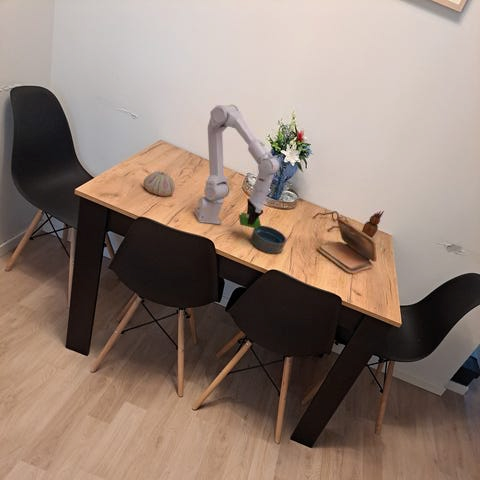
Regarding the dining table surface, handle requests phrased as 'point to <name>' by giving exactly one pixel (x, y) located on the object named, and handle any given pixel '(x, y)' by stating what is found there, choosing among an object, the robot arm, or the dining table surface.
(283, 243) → the bowl
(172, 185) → the sea urchin shell
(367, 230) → the wooden figurine
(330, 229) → the glasses
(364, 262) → the case
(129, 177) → the dining table surface
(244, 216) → the green box
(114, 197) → the dining table surface
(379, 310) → the dining table surface
